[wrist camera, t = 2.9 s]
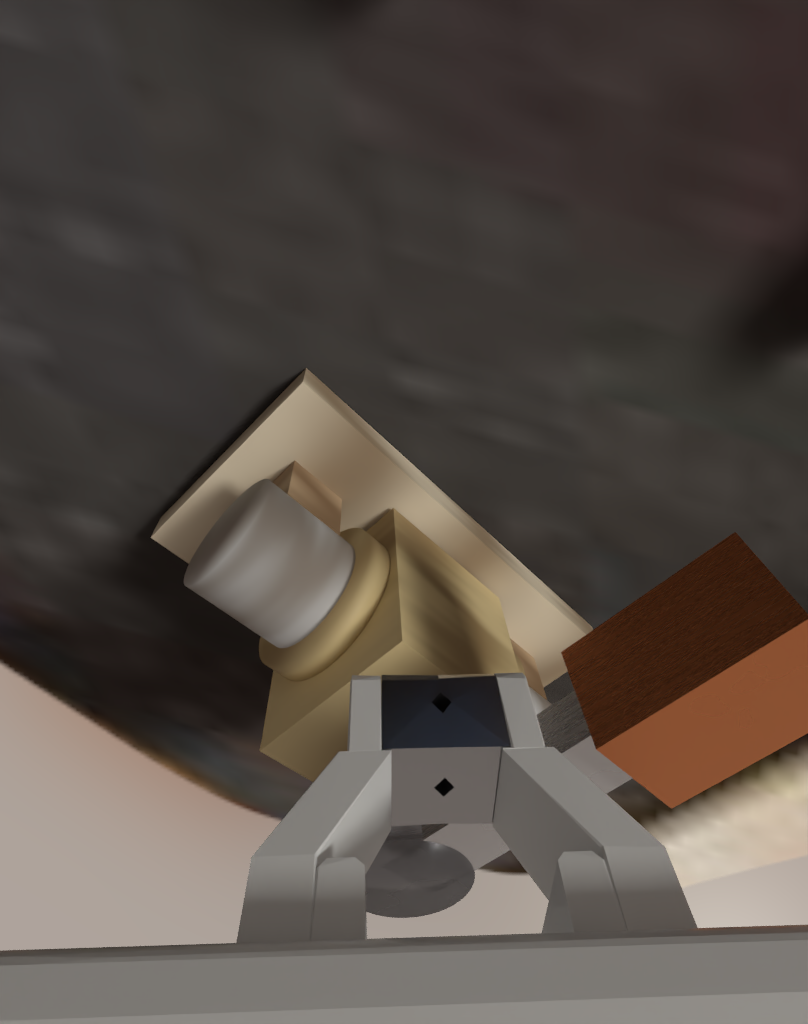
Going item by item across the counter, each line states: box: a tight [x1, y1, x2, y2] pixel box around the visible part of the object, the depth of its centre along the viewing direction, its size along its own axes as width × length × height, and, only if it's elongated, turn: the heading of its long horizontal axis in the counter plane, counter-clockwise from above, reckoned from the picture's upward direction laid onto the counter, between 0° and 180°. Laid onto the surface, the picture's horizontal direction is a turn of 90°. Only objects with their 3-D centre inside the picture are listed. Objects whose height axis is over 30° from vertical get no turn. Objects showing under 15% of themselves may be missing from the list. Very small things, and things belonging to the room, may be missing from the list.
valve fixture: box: [151, 368, 593, 782], centre depth 24 cm, size 18×9×12 cm, turn 44°
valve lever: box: [365, 532, 808, 918], centre depth 17 cm, size 14×4×3 cm, turn 134°
